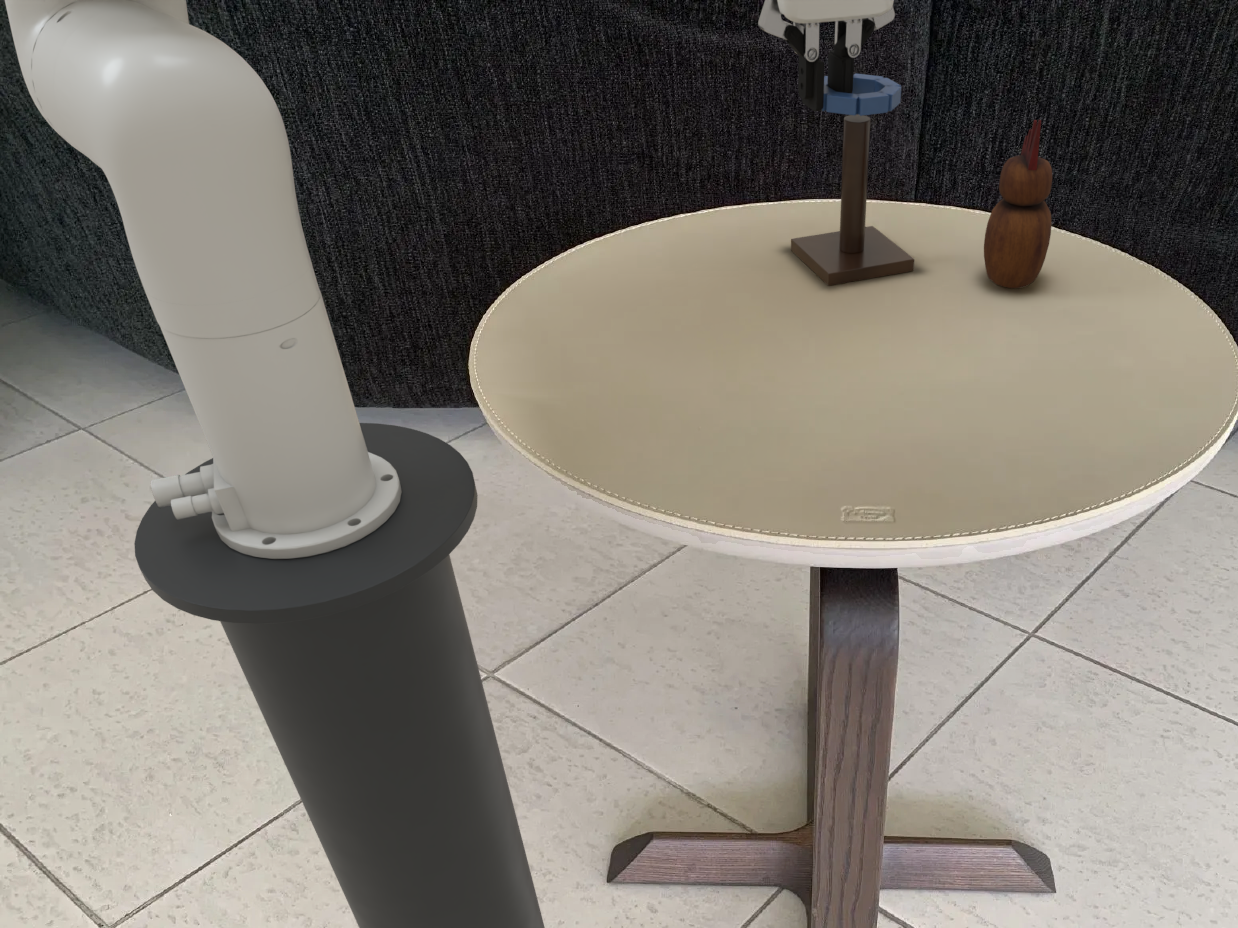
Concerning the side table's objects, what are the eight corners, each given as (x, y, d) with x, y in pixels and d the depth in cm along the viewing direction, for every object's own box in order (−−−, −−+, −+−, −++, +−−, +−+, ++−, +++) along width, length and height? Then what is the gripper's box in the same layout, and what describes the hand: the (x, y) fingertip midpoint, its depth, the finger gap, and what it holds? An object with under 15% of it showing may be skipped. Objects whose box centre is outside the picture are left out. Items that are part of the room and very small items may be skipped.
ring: (834, 119, 91) (834, 101, 90) (798, 95, 96) (798, 78, 95) (913, 109, 93) (914, 92, 92) (874, 87, 99) (874, 70, 98)
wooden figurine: (1035, 300, 98) (1063, 128, 88) (973, 290, 99) (994, 120, 90) (1047, 271, 103) (1075, 106, 93) (988, 262, 104) (1010, 99, 95)
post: (828, 286, 100) (832, 139, 91) (790, 250, 106) (791, 110, 98) (913, 271, 103) (925, 127, 94) (872, 237, 109) (879, 99, 100)
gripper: (754, -140, 77) (757, 128, 89) (946, -147, 82) (924, 108, 94) (718, -151, 82) (725, 103, 94) (900, -157, 87) (886, 86, 99)
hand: (825, 104), depth 94 cm, fingers closed on ring, 1 cm apart
